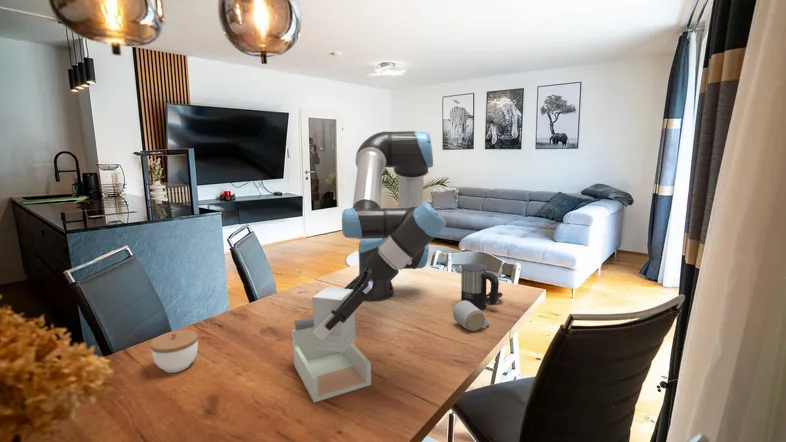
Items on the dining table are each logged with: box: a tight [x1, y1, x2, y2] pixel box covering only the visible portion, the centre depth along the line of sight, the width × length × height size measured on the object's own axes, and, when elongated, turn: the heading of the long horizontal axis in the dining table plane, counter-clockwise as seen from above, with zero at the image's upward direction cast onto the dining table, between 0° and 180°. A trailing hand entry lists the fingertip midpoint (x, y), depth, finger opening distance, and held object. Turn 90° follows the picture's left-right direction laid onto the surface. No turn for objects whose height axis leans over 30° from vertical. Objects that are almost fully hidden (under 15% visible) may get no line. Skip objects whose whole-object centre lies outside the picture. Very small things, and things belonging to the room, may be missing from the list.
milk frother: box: [460, 263, 503, 311], centre depth 142 cm, size 14×16×15 cm
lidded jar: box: [149, 329, 199, 374], centre depth 101 cm, size 11×11×9 cm
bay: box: [291, 316, 372, 403], centre depth 97 cm, size 19×14×12 cm
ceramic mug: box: [452, 300, 490, 332], centre depth 124 cm, size 11×8×8 cm
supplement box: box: [311, 286, 356, 352], centre depth 91 cm, size 7×7×13 cm
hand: (321, 326), depth 91 cm, fingers closed on supplement box, 9 cm apart
